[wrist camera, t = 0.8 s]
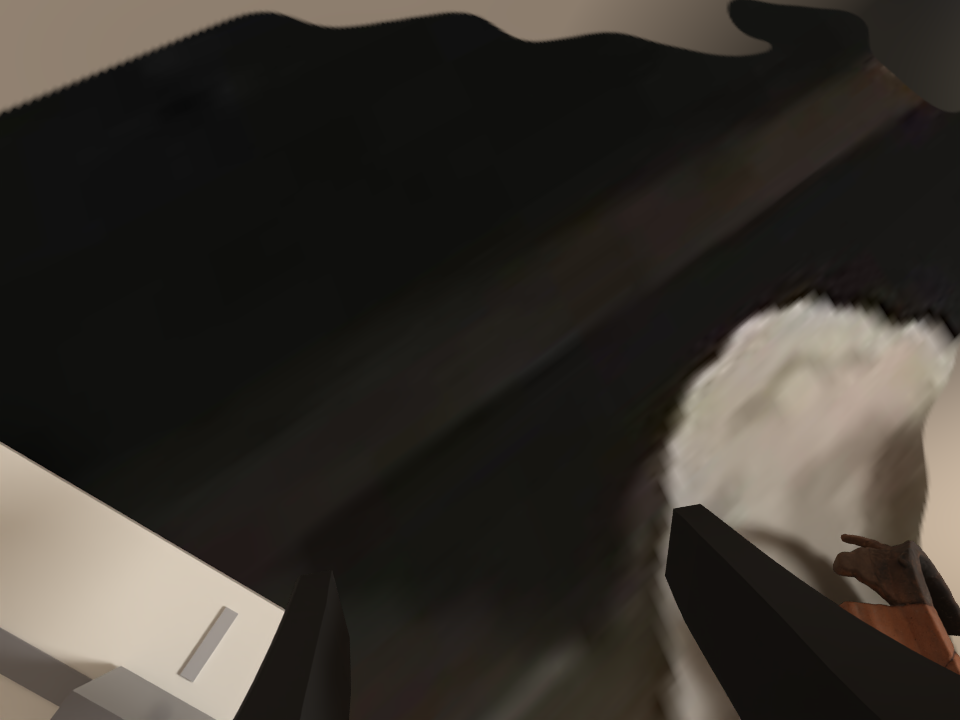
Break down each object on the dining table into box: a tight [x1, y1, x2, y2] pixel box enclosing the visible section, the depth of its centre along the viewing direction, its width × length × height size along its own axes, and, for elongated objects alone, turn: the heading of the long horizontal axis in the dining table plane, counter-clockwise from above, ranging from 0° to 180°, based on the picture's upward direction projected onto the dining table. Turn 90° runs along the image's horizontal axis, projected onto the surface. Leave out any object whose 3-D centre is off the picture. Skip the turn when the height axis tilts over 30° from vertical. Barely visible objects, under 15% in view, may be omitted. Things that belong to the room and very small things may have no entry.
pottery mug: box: [833, 534, 960, 675], centre depth 27 cm, size 12×10×8 cm
